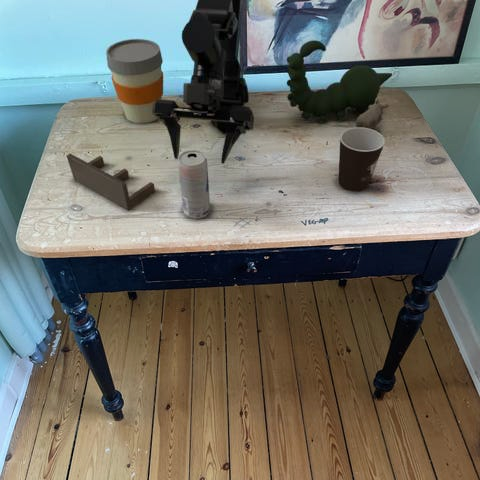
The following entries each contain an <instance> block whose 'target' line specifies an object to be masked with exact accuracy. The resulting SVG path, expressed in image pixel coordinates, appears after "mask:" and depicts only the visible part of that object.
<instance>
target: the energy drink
mask: <svg viewBox="0 0 480 480" xmlns="http://www.w3.org/2000/svg"><path fill="white" fill-rule="evenodd" d="M177 168H178V176H179V185H180V193H181V200H182V201H181V202H182V209H183V213H184V215H185V216H187V217H188V218H190V219H195V220H198V219H203V218H205V217H207V216H208V215H209V214H210V212H211V199H210V185H209V183H210V182H209V170H208V160H207V157H206V155H205V153H204V152H202V151H200V150H194V149H191V150H186V151H184V152H181V153H179V155H178V159H177Z"/></svg>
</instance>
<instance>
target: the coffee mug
mask: <svg viewBox="0 0 480 480" xmlns="http://www.w3.org/2000/svg"><path fill="white" fill-rule="evenodd" d="M385 142H386V140H385V137H384V136H383V134H382V133H380V131H379V130H377V129H376V131H375V130H372V129H369V128H361V127H358V128H356V127H351V128H347V129H345V130H344V131H342V132H341V134H340V135H339V157H338V158H339V159H338V181H337V183H338V185H339V186H340V188H342V189H343V190H346V191H348V192H353V193H354V192H355V193H357V192H362V191H365V190H366V189H368V187H369V185H370V183H371V180H372V177H373V175H374V172H375V170H376V167H377V164H378V161H379V159H380V157H381V153H382V151H383V148H384V145H385V144H386V143H385Z"/></svg>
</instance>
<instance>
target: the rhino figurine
mask: <svg viewBox="0 0 480 480" xmlns="http://www.w3.org/2000/svg"><path fill="white" fill-rule="evenodd" d="M388 107H389V103H385V104H382V103H380V100H379V99H376V100H375V103H374V104H373V105H371V106H369V109H368V110H367V111H366V112H364V113H363V114H359V116H358V117H357V119H356V121H355V128H358V127H361V128H369V129H372V130H375V131H376V130H377V129H376V128H377V126H378V125H379V123H380V122H381V121H382V118H383V114H384V109H385V108H388Z"/></svg>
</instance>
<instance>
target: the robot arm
mask: <svg viewBox="0 0 480 480" xmlns="http://www.w3.org/2000/svg"><path fill="white" fill-rule="evenodd" d="M243 7H244V0H197V1H196V5H195V9H193V11H192V12H191V16H190V18H189V20H188V22H187V23H186V24H185V25H184V26H183V29H182V31H181V40H182V44H183V45H184V48H185V50H186V51H187V54H188V55H189V57H190V59H191V61H192V62H193V72H192V74H191V78H190V82H183V88H182V89H183V91H182V93H183V94H182V95H183V97H182V100H183V101H182V103H184V104H186V105H187V106H189V107H185V106H184V107H183V106H179V105H178V104H177V102H176V101H175V100H172V99H171V100H170V99H169V100H168V99H162V100H160V99H157V100H156V101H155V102H154V104H153V110H152V114H153V115H154V116H155V117H156V118H157V119H156V120H158V121H159V122H161V123H162V124H163V125H164V126H165V127H166V129H167V132H168V135H169V139H170V143H171V148H172V153H173V158H174V159H175V160H178V158H179V155H180V146H181V130H182V125H181V124H180V123H179V121H181V119H189V120H190V119H191V120H201V121H210V124H211V125H212V126H214V127H215V128H216V129H217V130H218V131H219V132H220V133H221V134H222V135H225V137H224V143H223V147H222V152H221V159H220V160H221V161H220V163H221V164H222V165H224V164H225V163H226V161H227V159H228V157H229V155H230V153H231V151H232V149H233V147H234V145H235V144H236V142H237V141H238V139H239V138H240V136H241V135H245V134H247V131H253V130H254V124H255V116H254V112H253V110H252V108H251V107H250V106H246V105H247V103H249V101H250V100H249V99H250V97H249V95H250V94H249V88H248V84H247V81H246V79H245V78H244V71H243V67H242V66H241V63H240V60H239V50H240V39H241V29H242V20H243V19H242V17H243V9H244V8H243Z"/></svg>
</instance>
